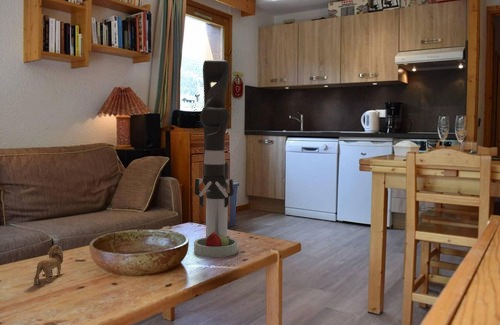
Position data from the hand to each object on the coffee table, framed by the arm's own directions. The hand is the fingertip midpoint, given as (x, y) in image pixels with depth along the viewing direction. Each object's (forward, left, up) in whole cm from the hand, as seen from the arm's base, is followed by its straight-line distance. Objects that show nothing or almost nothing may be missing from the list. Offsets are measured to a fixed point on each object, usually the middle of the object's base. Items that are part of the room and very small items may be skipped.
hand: (214, 206), depth 159 cm
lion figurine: (+33, -45, -18) cm, 59 cm away
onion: (0, 0, -17) cm, 17 cm away
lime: (-5, +2, -17) cm, 18 cm away
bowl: (-2, 0, -18) cm, 18 cm away
